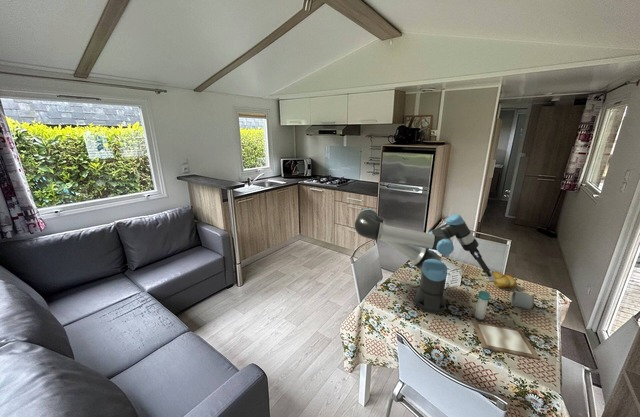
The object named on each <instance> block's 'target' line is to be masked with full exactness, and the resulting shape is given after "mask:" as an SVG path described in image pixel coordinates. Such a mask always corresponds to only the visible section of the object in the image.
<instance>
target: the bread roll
mask: <svg viewBox="0 0 640 417" xmlns="http://www.w3.org/2000/svg"><path fill="white" fill-rule="evenodd" d="M492 274H493V276H494V278H495V279H496V280H494V281H493V284H494V286H495V287H497V288H498V289H502V290H505V289H506V290H512V289H515V288H516V287H517V286H518V283H517V280H516V279H515V278H514V277H513V276H512V275H509V274H502V273H501V272H499V271H498V270H497V271H496V270H495V271H493V273H492Z"/></svg>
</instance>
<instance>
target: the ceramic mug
mask: <svg viewBox="0 0 640 417" xmlns="http://www.w3.org/2000/svg"><path fill="white" fill-rule="evenodd" d="M534 304H535V298H534V296H532V295H530V294H527V293H524V292H520V291H518V290H514V291H513V292H512V294H511V305H512V306H515V307H517V308H523V309H526V310H531V309H533V308H534Z"/></svg>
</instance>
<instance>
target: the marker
mask: <svg viewBox="0 0 640 417" xmlns="http://www.w3.org/2000/svg"><path fill="white" fill-rule="evenodd" d="M477 296H478V297H477V303H476V308H475V312H474V315H473V316H474V319H475V320H476V321H477V322H484V321H485V316H486V313H487V308H488V303H489V300H490V298H491V294H490V293H489V292H487V291H485V290H479V291H478V295H477Z"/></svg>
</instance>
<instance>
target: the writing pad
mask: <svg viewBox="0 0 640 417" xmlns="http://www.w3.org/2000/svg"><path fill="white" fill-rule="evenodd" d="M472 325H473V328H474V330H475V333H476V332H477V333H476V335H477V337H479V338H478V340H479V343H480V342H481V343H480V344H481V347H482V349H485V350H490V351H495V352H499V351H500V353H504V352H505V353H504V354H510V355H513V356H519V357H524V358H529V359H534V360H540V359H541V358H540V356H539V355H538V354H537V352H536V351H535V349H534V347H533V345H532V343H530V341H529V339H528V338H527V336H526V335H525V333H524V332H523V330H522V329H518V328H512V327H507V326H501V325H496V324H495V325H494V324H491V323H489V324H488V323H483V322H480V321H473V320H472Z"/></svg>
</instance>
